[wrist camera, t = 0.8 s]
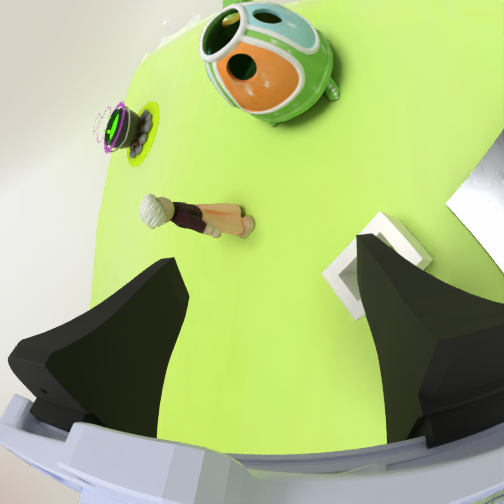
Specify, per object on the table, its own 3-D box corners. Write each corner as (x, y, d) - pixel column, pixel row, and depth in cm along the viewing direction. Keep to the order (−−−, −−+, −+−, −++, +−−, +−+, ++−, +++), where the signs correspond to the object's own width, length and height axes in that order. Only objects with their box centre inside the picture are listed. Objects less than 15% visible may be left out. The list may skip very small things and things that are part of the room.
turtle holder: (311, 5, 28) (247, -47, 19) (362, 98, 24) (287, 28, 16) (245, 51, 36) (178, 16, 28) (268, 149, 33) (180, 116, 24)
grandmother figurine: (264, 212, 33) (162, 193, 23) (256, 245, 33) (153, 238, 24) (221, 200, 38) (130, 183, 29) (215, 229, 38) (123, 219, 29)
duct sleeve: (399, 220, 22) (380, 210, 19) (433, 259, 20) (422, 259, 17) (349, 272, 25) (321, 273, 22) (378, 311, 23) (355, 320, 20)
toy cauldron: (135, 180, 58) (87, 173, 50) (124, 145, 65) (84, 137, 57) (167, 119, 50) (114, 104, 42) (150, 92, 58) (108, 79, 50)
